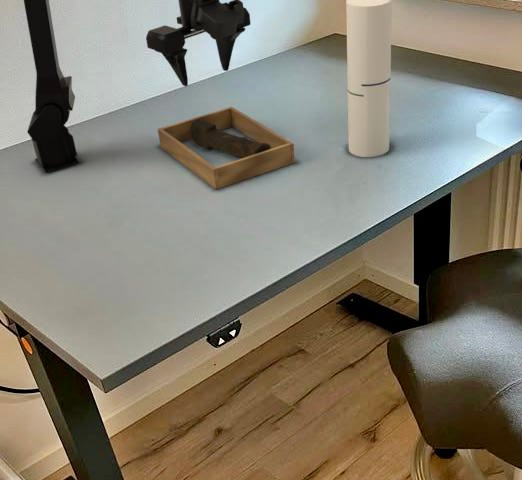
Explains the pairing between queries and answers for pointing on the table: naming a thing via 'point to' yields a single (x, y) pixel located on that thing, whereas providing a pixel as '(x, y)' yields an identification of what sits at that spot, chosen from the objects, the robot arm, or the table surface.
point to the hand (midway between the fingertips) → (205, 77)
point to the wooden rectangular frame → (236, 170)
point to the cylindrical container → (368, 76)
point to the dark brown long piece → (224, 140)
